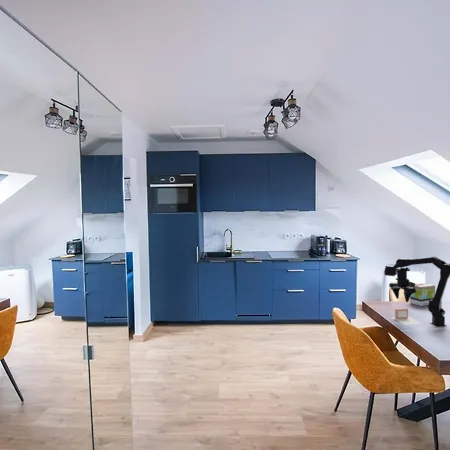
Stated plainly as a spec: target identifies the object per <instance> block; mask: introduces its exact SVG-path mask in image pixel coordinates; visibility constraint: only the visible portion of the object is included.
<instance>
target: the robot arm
mask: <svg viewBox="0 0 450 450" xmlns="http://www.w3.org/2000/svg"><path fill="white" fill-rule="evenodd" d="M424 264H432V265H434V266H435V267H436V268H437V269H439V270H440V271H439V281H438V283H437V287H436V289H435V296H434V299H431V300H429V305H427V307H428V308H427V309H428V311H429V312H430V313H431V318H432V319H431V322H430V324H431V325H433V326H435V327H437V328H441V327H447V324H446V322H445V321H446V319H445V318H446V317H445V316H444V315H445V314H446V311H445V310H444V309H443V308H442V307H443V306H442V305H443V304H442V303H443V302H442V300H443V295H444V293H445V290H446V287H447V283H448V281H449V278H450V263H448V262H445V260H442V259H440V258H438V257H437V256H428V257H419V258H410V257H409V258H406V257H402V258H398V259H397V260H396V262H395V264H394V265H393V266H392V265H385V268H384V271H383V274H384V276H389V277H395V276H397V277H396V278H395V280H396V282H390V283H389V285H388V286H389V288H390V290H391V291H392V292H393V294H394V297H395V299H397V300H398V299H399V298H400V297H399V296H400V290H403V296H404V300H405V303H409V302H410V296H411V295H412V294H413V293H416V289H415V288H414V287H415V284H416V283H415V282H412V281H410V280H409V278H408V272H410V271H411V269H410V268H409V266H414V265H415V266H416V265H424Z"/></svg>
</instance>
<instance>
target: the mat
mask: <svg viewBox="0 0 450 450" xmlns="http://www.w3.org/2000/svg"><path fill="white" fill-rule="evenodd" d="M392 319H393V320H395V321H397V322H399V323H401V324H402V325H405V326H409V325H424V324H423V323H422V322H421V321H419V320H416V319H415V318H412V317H410V316H408V318H403V319H396V318H395V316H394V317H392Z"/></svg>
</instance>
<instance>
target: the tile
mask: <svg viewBox="0 0 450 450" xmlns="http://www.w3.org/2000/svg"><path fill="white" fill-rule="evenodd" d="M394 313H395V314H394V317H395V318H396V319H403V318H408V317H409V309H408V308H395V309H394Z"/></svg>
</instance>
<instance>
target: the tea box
mask: <svg viewBox="0 0 450 450" xmlns="http://www.w3.org/2000/svg"><path fill="white" fill-rule="evenodd" d="M414 288H415V289H416V293H413V294H412V295H411V296H410V298H409V303H410V304H411V305H412V304H413V305H415V306H416V305H417V306H419V307H423V306H428V305H429V300H431V299H434V296H435V293H436V285H434V284H429V283H426V282H425V283H424V282H422V283H415V287H414Z"/></svg>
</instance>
